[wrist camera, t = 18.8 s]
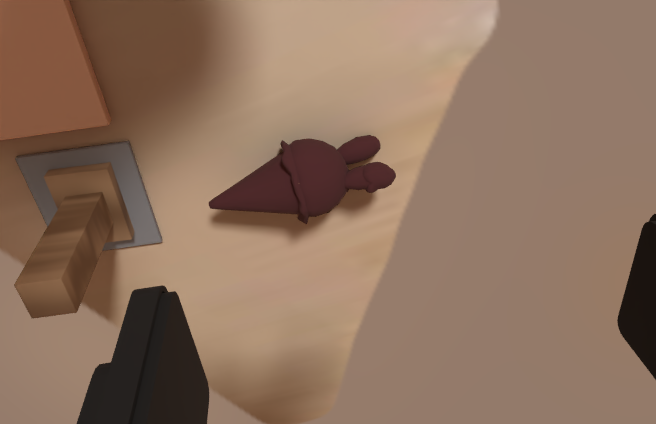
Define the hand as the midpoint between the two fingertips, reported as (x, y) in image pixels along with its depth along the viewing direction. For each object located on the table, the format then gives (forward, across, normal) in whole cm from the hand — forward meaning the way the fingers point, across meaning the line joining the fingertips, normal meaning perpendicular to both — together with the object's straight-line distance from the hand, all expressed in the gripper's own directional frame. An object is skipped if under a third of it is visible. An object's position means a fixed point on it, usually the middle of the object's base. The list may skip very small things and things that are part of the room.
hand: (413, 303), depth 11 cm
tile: (+33, +21, +2) cm, 39 cm away
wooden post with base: (+33, +20, +15) cm, 41 cm away
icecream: (+34, +2, +14) cm, 37 cm away
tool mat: (+33, +20, +15) cm, 42 cm away
